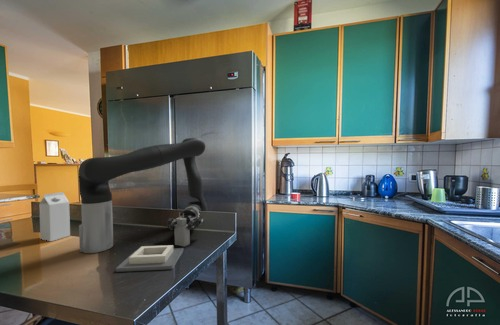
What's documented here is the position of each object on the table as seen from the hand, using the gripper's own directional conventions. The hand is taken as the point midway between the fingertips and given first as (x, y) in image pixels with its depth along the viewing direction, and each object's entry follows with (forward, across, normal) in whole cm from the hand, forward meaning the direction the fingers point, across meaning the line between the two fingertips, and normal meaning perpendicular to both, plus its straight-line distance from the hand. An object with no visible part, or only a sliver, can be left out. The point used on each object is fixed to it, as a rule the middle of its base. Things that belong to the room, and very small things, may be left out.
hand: (180, 227), depth 81 cm
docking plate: (+11, -6, +7) cm, 14 cm away
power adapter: (-2, 0, +7) cm, 8 cm away
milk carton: (-15, -56, +7) cm, 59 cm away
